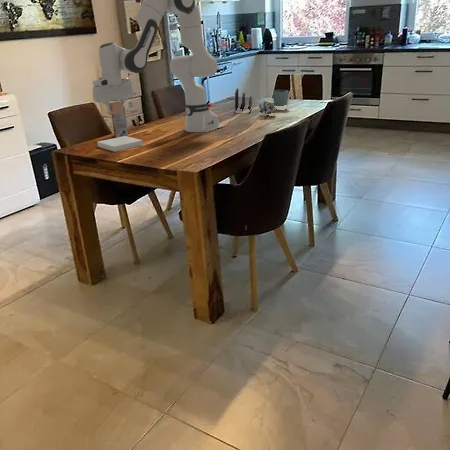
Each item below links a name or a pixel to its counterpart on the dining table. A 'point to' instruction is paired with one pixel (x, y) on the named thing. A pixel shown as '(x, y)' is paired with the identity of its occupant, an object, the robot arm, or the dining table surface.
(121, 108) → the terracotta block
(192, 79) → the robot arm
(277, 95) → the grey tapered pot
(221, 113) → the dining table surface
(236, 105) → the letter holder
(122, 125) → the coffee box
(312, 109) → the dining table surface
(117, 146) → the base plate
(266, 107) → the passion flower
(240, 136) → the dining table surface
